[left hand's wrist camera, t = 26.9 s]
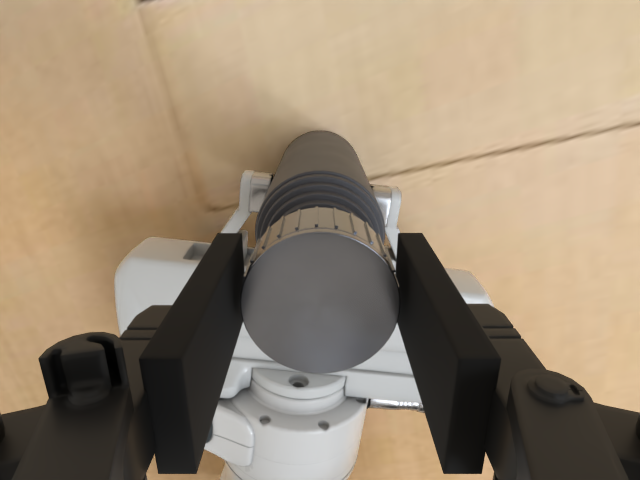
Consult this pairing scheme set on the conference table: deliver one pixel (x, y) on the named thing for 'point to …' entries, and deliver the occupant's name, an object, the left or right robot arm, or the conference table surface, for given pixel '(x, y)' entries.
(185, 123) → the conference table surface
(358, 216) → the bottle
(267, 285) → the cap
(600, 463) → the left robot arm
